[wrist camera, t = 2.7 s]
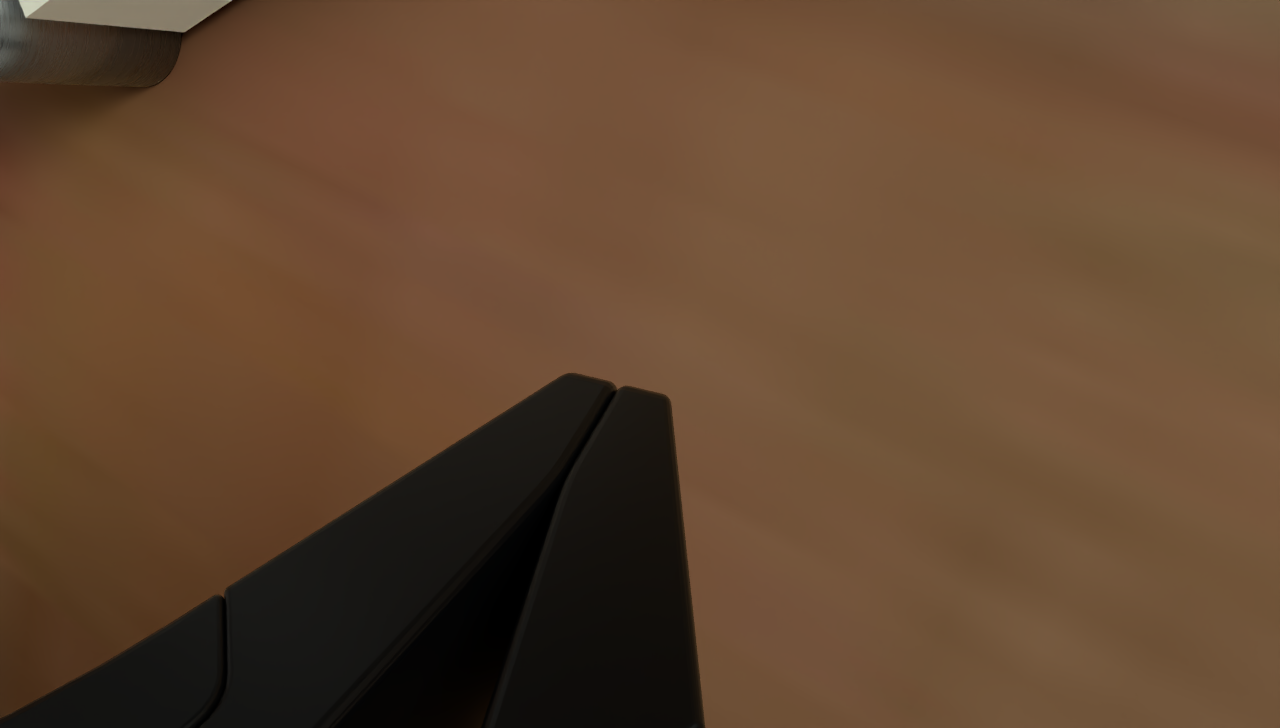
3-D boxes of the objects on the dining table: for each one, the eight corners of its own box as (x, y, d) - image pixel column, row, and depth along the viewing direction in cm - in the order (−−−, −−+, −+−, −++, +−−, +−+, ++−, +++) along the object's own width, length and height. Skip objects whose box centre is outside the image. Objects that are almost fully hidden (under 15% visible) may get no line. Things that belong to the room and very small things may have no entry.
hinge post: (168, 104, 24) (-86, 99, 19) (89, 63, 25) (-176, 48, 20) (191, -8, 23) (-68, -42, 19) (108, -47, 24) (-162, -90, 19)
